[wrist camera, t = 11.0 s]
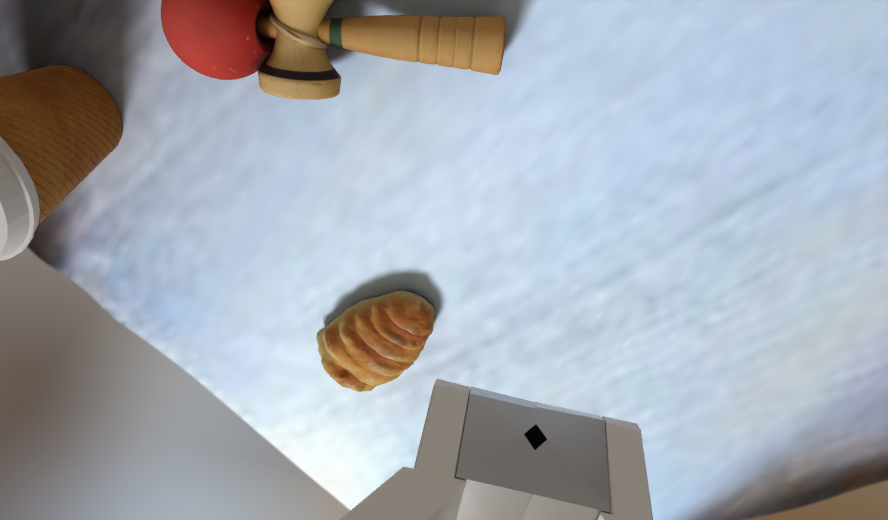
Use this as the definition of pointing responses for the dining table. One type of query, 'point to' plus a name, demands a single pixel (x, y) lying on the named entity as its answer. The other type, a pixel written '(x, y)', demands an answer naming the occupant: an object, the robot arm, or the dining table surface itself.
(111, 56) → the dining table surface
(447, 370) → the dining table surface
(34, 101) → the disposable coffee cup
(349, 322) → the pastry
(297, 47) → the kendama
